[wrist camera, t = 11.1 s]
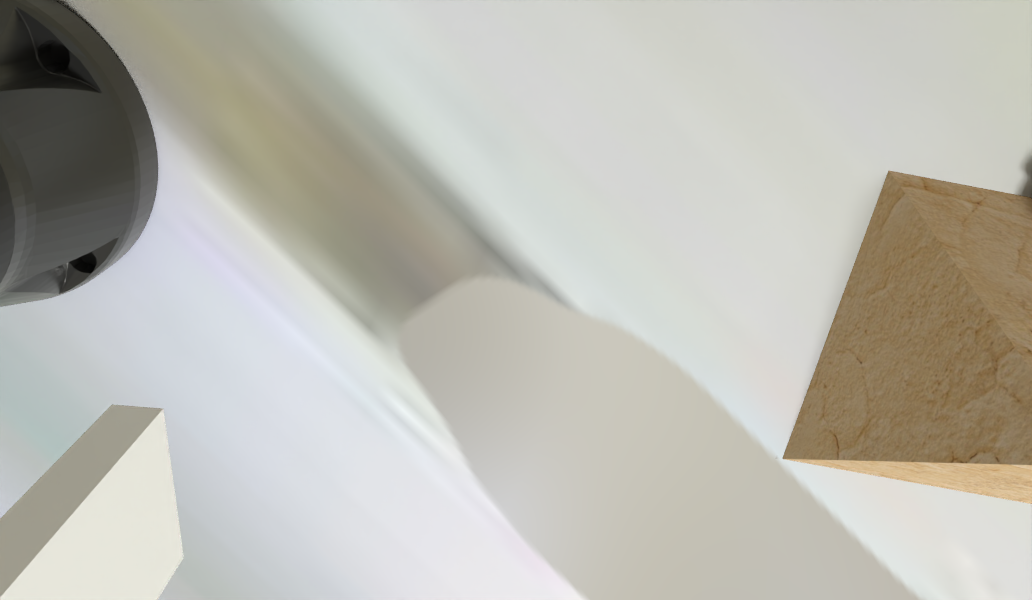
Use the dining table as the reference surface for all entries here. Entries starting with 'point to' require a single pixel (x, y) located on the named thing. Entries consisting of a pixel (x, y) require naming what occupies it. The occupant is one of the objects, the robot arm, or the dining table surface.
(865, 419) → the model pyramid
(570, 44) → the dining table surface
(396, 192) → the dining table surface
